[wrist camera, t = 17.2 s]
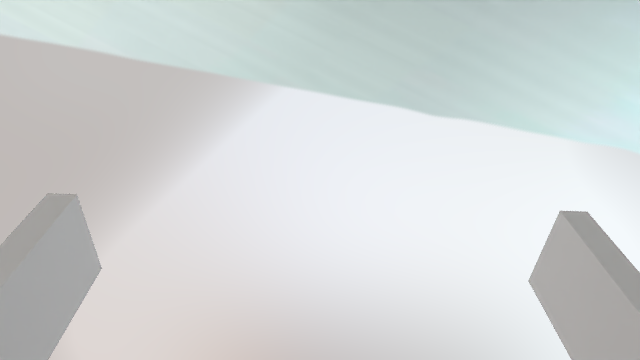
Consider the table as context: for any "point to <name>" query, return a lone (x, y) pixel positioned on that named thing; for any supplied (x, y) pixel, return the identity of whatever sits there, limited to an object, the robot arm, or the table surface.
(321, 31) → the table surface
